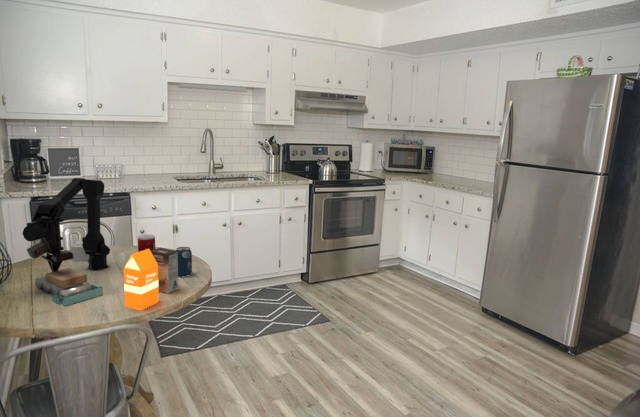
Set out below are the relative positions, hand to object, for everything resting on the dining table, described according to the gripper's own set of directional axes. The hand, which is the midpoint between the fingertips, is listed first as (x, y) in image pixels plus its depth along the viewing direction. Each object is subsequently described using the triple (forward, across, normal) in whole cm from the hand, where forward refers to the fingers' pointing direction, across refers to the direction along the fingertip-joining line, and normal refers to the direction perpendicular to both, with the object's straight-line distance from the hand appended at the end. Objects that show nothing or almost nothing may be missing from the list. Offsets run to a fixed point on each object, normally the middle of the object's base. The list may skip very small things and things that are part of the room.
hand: (54, 273), depth 172 cm
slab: (+1, +9, 0) cm, 9 cm away
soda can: (+6, +27, +41) cm, 49 cm away
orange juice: (+6, +40, +10) cm, 42 cm away
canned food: (+6, -5, +45) cm, 46 cm away
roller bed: (+5, +8, 0) cm, 10 cm away
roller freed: (+6, +16, 0) cm, 17 cm away
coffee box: (+6, +35, +24) cm, 43 cm away
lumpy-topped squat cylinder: (+6, -26, +27) cm, 38 cm away
